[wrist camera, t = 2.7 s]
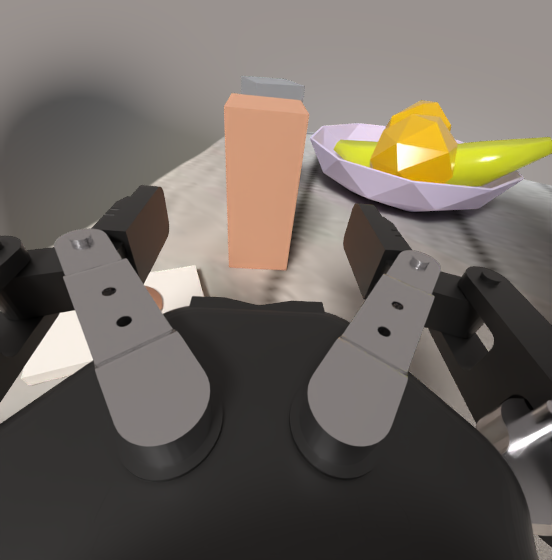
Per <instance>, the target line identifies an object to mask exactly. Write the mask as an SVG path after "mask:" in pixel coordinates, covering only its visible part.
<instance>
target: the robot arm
mask: <svg viewBox="0 0 552 560" xmlns="http://www.w3.org/2000/svg"><path fill="white" fill-rule="evenodd" d="M168 234H169V221H168V215H167V209H166V203H165V197H164V192H163V189H162V188H161V187H157V186H144V185H141V186H139V188H138V189H137V190H136V191H135V192H134V193H133V194H132V195H131V196H130V197H128V196H127V197H125V198H123V199H121V200H119V201H117V202H116V203H115V204H114V205H113V206H112V207H111V208H110V209H109V210H108V211H107V212H106V213H105V215H103V217H102V218H101V219H100V220H99V221H98V222H97V223H96V224H95V225H94V226H93V227H92V228H91V229H79V230H74V231H71V232H68V233H66V234H64V235H62V236H60V237H59V238H58V239H57V240H56V241H55V243H54V247H53V248H44V249H35V250H26V248H25V247H24V245H23V243H22V242H21V240H20V239H18V238H16V237H13V236H0V402H1V401H2V399H3V398H4V396H5V395H6V393H7V392H8V390H9V389H10V387H11V386H12V384H13V383H14V381H15V380H16V378H17V377H18V375H19V374H20V372H21V371H22V369H23V368H24V366H25V365H26V363H27V362H28V360H29V359H30V357H31V356H32V354H33V353H34V351H35V350H36V349H37V347H38V346H39V344H40V343H41V341H42V340H43V338H44V337H45V335H46V334H47V332H48V331H49V329H50V328H51V326H52V325H53V323H54V322H55V320H56V319H57V317H58V316H59V314H60V313H63V312H68V311H74V310H75V312H76V314H77V317H78V320H79V323H80V325H81V328H82V331H83V333H84V336H85V339H86V342H87V344H88V347H89V350H90V353H91V355H92V358H93V360H92V361H91V362H89V363H88V364H87V365H85V366H84V367H82V368H81V369H79V370H78V371H76V372H75V373H73V374H72V375H71V376H69V377H68V378H66V379H65V380H63V381H62V382H60V383H59V384H58V385H56V386H55V387H53V388H52V389H50V390H49V391H47V392H46V393H44V394H43V395H42V396H40V397H39V398H37V399H36V400H34V401H33V402H31V403H30V404H28V405H27V406H26V407H24V408H23V409H21V410H20V411H18V412H17V413H15V414H14V415H12V416H11V417H10V418H8V419H7V420H5V421H4V422H2V423H1V424H0V560H539V559H538V555H537V551H536V546H535V542H534V536H533V535H538V536H539V537H540V538H541V539H542V540H544V541H545V542H546V543H547V544H548V545H550V546H551V547H552V325H551V324H550V323H549V322H548V321H547V320H546V319H545V318H544V317H543V316H542V315H541V314H540V313H539V312H538V311H537V310H536V309H535V308H534V307H533V306H532V305H531V304H530V302H529V301H528V300H527V299H526V298H525V297H524V296H523V295H522V294H521V293H520V292H519V291H518V290H517V289H516V288H515V287H514V286H513V285H512V284H511V283H510V282H509V281H508V280H507V279H506V278H505V277H503V276H502V275H500V274H498V273H497V272H495V271H492V270H490V269H487V268H483V267H476V266H474V267H469V268H468V269H467V270H466V271H465V273H464V274H463V275H462V277H460V276H456V275H452V274H448V273H444V272H441V266H440V264H439V263H438V262H437V261H436V260H435V259H434V258H432V257H431V256H429V255H427V254H424V253H422V252H418V251H413V250H412V249H411V248H410V246H409V245H408V244H407V242H406V241H405V240H404V238H403V237H401V236H402V235H401V234H400V233H399V231H398V230H397V228H396V227H395V226H394V224H393V223H392V222H390V221H389V220H387V219H386V218H385V217H382V216H381V214H380V213H379V211H378V210H377V208H376V207H375V206H374V205H370V204H358V203H356V204H355V205H354V207H353V209H352V212H351V216H350V219H349V222H348V225H347V229H346V232H345V235H344V242H343V246H344V250H345V253H346V255H347V258H348V260H349V263H350V265H351V268H352V271H353V273H354V276H355V278H356V281H357V283H358V286H359V288H360V291H361V294H362V296H363V299H366V300H365V302H364V303H363V305H362V306H361V308H360V309H359V311H358V312H357V314H356V315H355V317H354V318H353V320H352V321H351V323H349V322H348V321H346V320H344V319H342V318H340V317H338V316H336V315H333V314H330V313H327V312H324V308H323V303H322V302H306V301H287V302H280V303H273V304H266V305H254V304H250V303H245V302H241V301H237V300H233V299H229V298H223V297H202V296H192V298H191V302H190V305H189V306H185V307H180V308H176V309H173V310H170V311H168V312H165V313H163V314H162V312H161V310H160V309H159V307H158V306H157V304H156V303H155V301H154V300H153V298H152V297H151V295H150V293H149V292H148V290H147V289H146V287H145V286H144V283H145V281H146V279H147V277H148V275H149V273H150V271H151V269H152V267H153V265H154V263H155V261H156V259H157V257H158V255H159V253H160V251H161V249H162V247H163V245H164V243H165V241H166V239H167V237H168ZM484 323H485V324H486V325H487V327H488V328H489V330H490V331H491V332H492V334H493V337H494V345H493V348H492V349H491V350H490V351H489V352H488V351H487V349H486V348H485V346H484V345H483V343H482V342H481V340H480V339H479V337H478V336H477V334H476V333H475V332H476V331H477V330H478V329H479V328H480V327H481V326H482V325H483V324H484ZM424 327H426V328H428V329H429V331H430V333H431V335H432V337H433V339H434V341H435V343H436V345H437V347H438V349H439V351H440V353H441V355H442V357H443V359H444V361H445V363H446V365H447V367H448V369H449V371H450V373H451V375H452V377H453V379H454V381H455V383H456V385H457V387H458V389H459V391H460V392H461V394H462V396H463V398H464V400H465V402H466V404H467V406H468V408H469V410H470V412H471V414H472V416H473V418H474V420H475V422H476V428H475V427H473V426H472V425H471V424H470V423H469V422H468V421H466V420H465V419H464V418H463V417H462V416H460V415H459V414H458V413H457V412H456V411H455V410H453V409H452V408H451V407H450V406H449V405H447V404H446V403H445V402H444V401H443V400H442V399H440V398H439V397H438V396H437V395H436V394H434V393H433V392H432V391H431V390H430V389H429V388H427V387H426V386H425V385H424V384H423V383H421V382H420V381H419V380H418V379H417V378H416V377H414V376H413V375H412V374H411V373H410V372H408V369H409V366H410V363H411V361H412V358H413V355H414V352H415V350H416V347H417V344H418V341H419V339H420V336H421V333H422V331H423V328H424Z"/></svg>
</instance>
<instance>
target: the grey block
mask: <svg viewBox="0 0 552 560" xmlns="http://www.w3.org/2000/svg"><path fill="white" fill-rule="evenodd" d="M304 89H305V86H303V85H300V84H298V83H295V82H292V81H289V80H287V79H280V78H263V77H250V76H241V94H244V95H254V96H264V97H274V98H284V99H293V100H301V101H302V103H303V97H304Z"/></svg>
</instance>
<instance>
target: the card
mask: <svg viewBox="0 0 552 560" xmlns="http://www.w3.org/2000/svg"><path fill="white" fill-rule="evenodd" d="M144 286H145V287H146V289H147V290H148V292H149V293H150V295H151V297H152V298H153V300H154V301H155V303H156V304H157V306H158V307H159V309H160V310H161V312H162V314H163V313H165V312H168V311H170V310H173V309H176V308H180V307H185V306H189V305H190V302H191V298H192V296H202V297H204V295H203V291H202V288H201V284H200V281H199V277H198V274H197V270H196V266H195V265H193V266H187V267H181V268H175V269H169V270H163V271H156V272H150V273H149V275H148V277H147V279H146V281H145V283H144ZM92 360H93V358H92V355H91V353H90V350H89V347H88V344H87V342H86V339H85V336H84V333H83V331H82V328H81V325H80V323H79V320H78V317H77V314H76V312H75V310H74V311H68V312H63V313H60V314H59V316H58V317H57V319H56V320H55V322H54V323H53V325H52V326H51V328H50V329H49V331H48V332H47V334H46V335H45V337H44V338H43V340H42V341H41V343H40V344H39V346H38V347H37V349H36V350H35V351H34V353H33V354H32V356H31V357H30V359H29V360H28V362H27V363H26V365H25V366H24V369H23V373H22V376H21V379H22V380H23V381H24V382H25V383H26V384H27V385H28V386H30V385H34V384H38V383H42V382H46V381H50V380H54V379H58V378H62V377H65V376H69V375H72V374H73V373H75V372H76V371H78V370H79V369H81V368H82V367H84V366H85V365H87V364H88V363H89V362H91V361H92Z"/></svg>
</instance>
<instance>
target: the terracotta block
mask: <svg viewBox="0 0 552 560" xmlns="http://www.w3.org/2000/svg"><path fill="white" fill-rule="evenodd" d="M224 118H225V152H226V184H227V216H228V248H229V267H231V268H251V269H272V270H286V268H287V262H288V255H289V248H290V241H291V234H292V228H293V221H294V214H295V207H296V201H297V194H298V187H299V180H300V173H301V167H302V160H303V153H304V146H305V139H306V133H307V126H308V119H309V113H308V112H307V110H306V108H305V107H304V105H303V103H302V101H301V100H293V99H284V98H274V97H264V96H254V95H244V94H234V93H232V94H231V96H230V97H229V99H228V101H227V102H226V104H225V106H224Z"/></svg>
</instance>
